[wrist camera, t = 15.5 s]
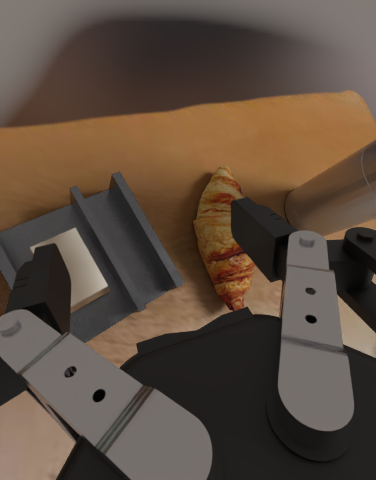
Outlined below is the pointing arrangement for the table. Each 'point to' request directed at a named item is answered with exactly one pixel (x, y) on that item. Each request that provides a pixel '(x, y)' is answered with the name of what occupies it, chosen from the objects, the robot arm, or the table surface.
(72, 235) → the offcut upper
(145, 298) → the rack
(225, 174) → the croissant
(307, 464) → the robot arm
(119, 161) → the table surface
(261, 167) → the table surface
